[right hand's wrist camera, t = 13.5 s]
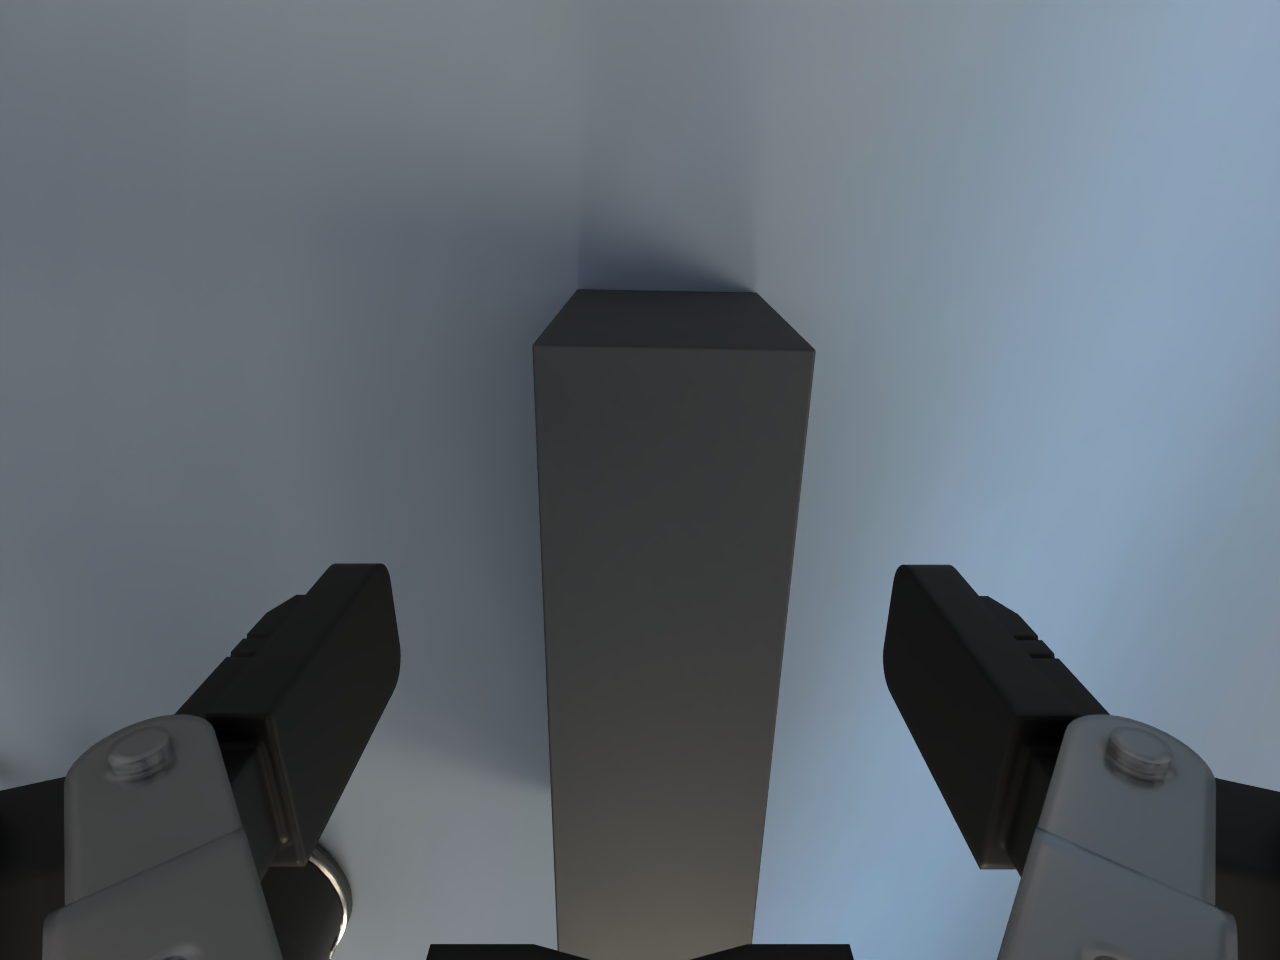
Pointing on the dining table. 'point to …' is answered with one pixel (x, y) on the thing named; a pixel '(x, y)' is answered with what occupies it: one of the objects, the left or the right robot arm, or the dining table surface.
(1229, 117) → the dining table surface
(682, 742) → the box
